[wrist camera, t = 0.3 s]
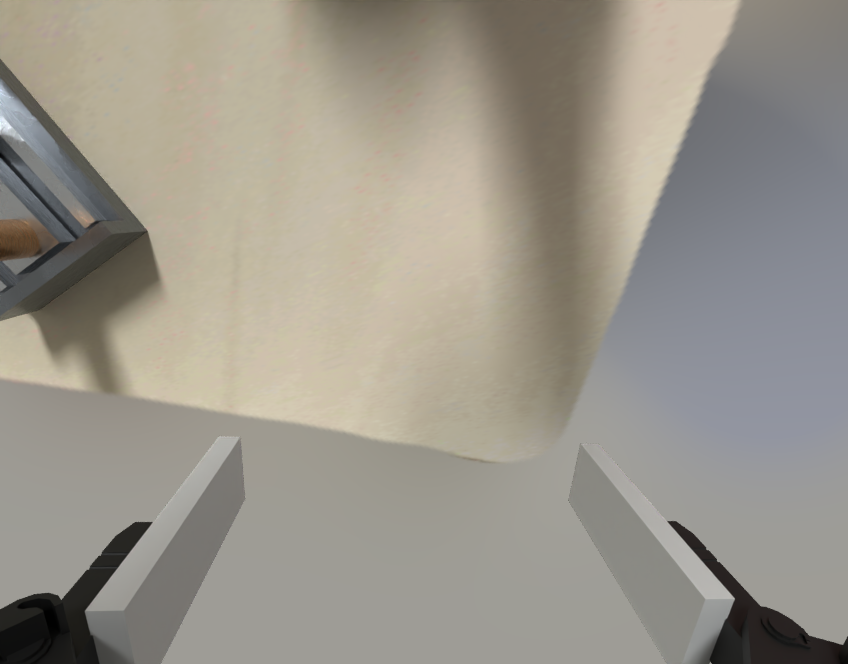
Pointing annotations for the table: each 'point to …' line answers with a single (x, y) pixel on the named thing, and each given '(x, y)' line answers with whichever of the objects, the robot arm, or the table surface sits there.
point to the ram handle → (26, 226)
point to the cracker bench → (56, 201)
